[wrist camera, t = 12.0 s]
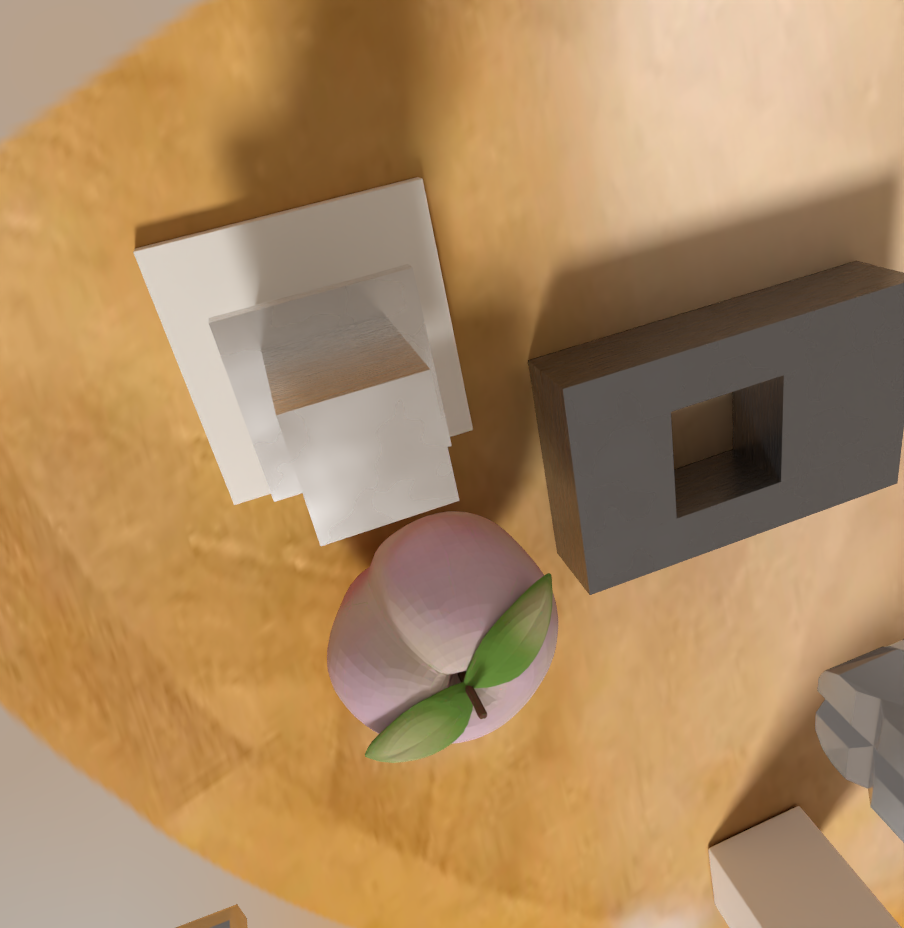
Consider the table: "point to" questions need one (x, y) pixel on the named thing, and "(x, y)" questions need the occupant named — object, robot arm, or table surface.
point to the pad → (285, 274)
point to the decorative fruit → (442, 636)
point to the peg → (343, 401)
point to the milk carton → (790, 880)
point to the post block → (754, 421)
